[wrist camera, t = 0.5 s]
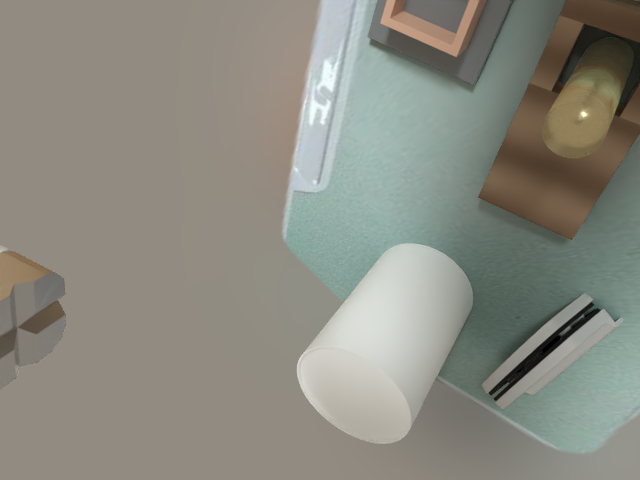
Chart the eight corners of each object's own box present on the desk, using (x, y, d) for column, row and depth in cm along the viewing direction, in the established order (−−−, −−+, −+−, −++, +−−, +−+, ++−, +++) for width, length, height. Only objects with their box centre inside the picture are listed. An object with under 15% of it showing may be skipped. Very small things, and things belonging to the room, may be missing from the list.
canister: (496, 305, 68) (438, 428, 54) (423, 341, 78) (358, 453, 64) (420, 225, 67) (342, 328, 53) (357, 271, 77) (277, 369, 63)
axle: (624, 28, 46) (594, 92, 35) (640, 72, 47) (615, 147, 36) (575, 49, 49) (532, 114, 38) (591, 90, 50) (554, 165, 39)
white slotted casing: (538, 390, 71) (495, 429, 66) (511, 361, 73) (467, 397, 67) (626, 318, 60) (583, 358, 54) (591, 286, 62) (546, 321, 56)
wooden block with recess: (577, -17, 46) (571, -10, 44) (703, 23, 43) (702, 32, 41) (486, 184, 60) (478, 197, 58) (577, 225, 57) (571, 240, 55)
